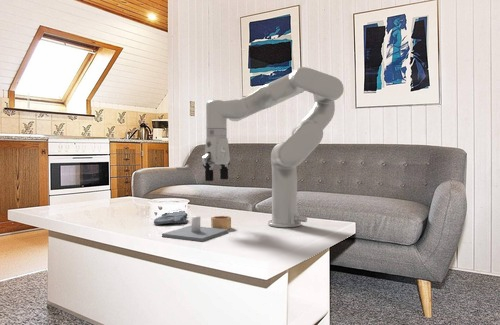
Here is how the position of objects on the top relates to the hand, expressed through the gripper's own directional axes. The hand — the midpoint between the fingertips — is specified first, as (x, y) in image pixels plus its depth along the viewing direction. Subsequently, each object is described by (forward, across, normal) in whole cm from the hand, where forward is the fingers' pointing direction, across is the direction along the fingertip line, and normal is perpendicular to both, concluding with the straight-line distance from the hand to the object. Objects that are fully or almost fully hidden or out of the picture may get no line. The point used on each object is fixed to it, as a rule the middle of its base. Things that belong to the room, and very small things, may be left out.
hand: (216, 180), depth 149 cm
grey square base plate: (+18, -15, -1) cm, 23 cm away
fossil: (+18, +1, +21) cm, 28 cm away
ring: (+18, -2, -3) cm, 18 cm away
